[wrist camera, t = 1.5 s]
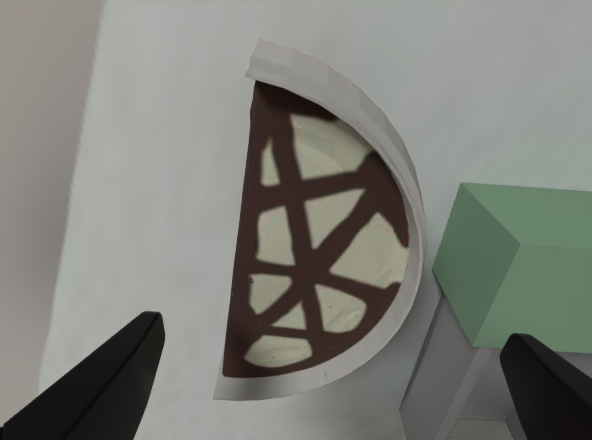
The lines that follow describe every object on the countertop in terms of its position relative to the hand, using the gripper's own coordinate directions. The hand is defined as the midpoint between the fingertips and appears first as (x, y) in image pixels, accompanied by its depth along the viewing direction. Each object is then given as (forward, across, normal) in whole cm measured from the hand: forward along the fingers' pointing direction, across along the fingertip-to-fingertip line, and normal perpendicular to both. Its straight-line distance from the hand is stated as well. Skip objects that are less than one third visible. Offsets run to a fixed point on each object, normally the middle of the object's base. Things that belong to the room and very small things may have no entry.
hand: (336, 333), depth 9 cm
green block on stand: (+11, -14, +11) cm, 21 cm away
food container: (+12, 0, 0) cm, 12 cm away
